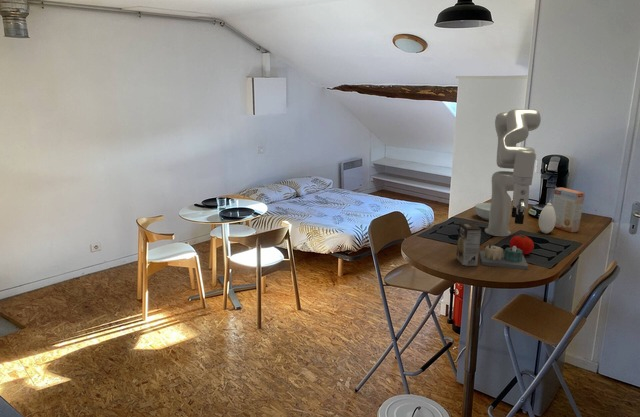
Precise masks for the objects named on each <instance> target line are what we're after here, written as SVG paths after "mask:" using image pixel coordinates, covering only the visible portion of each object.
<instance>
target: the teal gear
mask: <svg viewBox="0 0 640 417" xmlns="http://www.w3.org/2000/svg"><path fill="white" fill-rule="evenodd" d="M503 253H504V259H506V260H507V261H513V262H517V261H518V262H521V260H522V256H524V255H523V251H522V250H520V249H519V248H518V249H517V248H516V251H512V248H510V247H506V248H505V249H504V252H503Z"/></svg>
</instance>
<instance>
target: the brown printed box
mask: <svg viewBox="0 0 640 417" xmlns="http://www.w3.org/2000/svg"><path fill="white" fill-rule="evenodd" d="M481 235H482V228H480V227H479V226H478V225H477V224H475V223H474V222H459V226H458V236H457V237H458V238H457V246H456V258H455V259H457V260H458V261H459V263H460V264H461V265H462V266H463V265H465V266H470V267H471V266H473V267H475V266H478V262H479V261H478V260H479V255H480V245H481V244H480V243H481Z"/></svg>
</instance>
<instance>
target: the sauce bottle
mask: <svg viewBox="0 0 640 417" xmlns="http://www.w3.org/2000/svg"><path fill="white" fill-rule="evenodd" d="M551 201H552V200H551V198H549V202H547V203H546V205H545V206H543V208H542V210H541V212H540V214H539V217H538V226H539V230H540V231H541V232H542V233H543V234H549V233H550V232H552V231H553V230H554V229H555V227H554V226H555V223H556V215H555V210H554V208H553V203H551Z"/></svg>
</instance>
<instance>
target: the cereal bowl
mask: <svg viewBox="0 0 640 417" xmlns="http://www.w3.org/2000/svg"><path fill="white" fill-rule="evenodd" d="M490 207H491V202H478V203H475V205H474V212H475V214H476V215H477V216H479V217H480V218H482V219H483V220H485V221H489V216H490Z"/></svg>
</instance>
